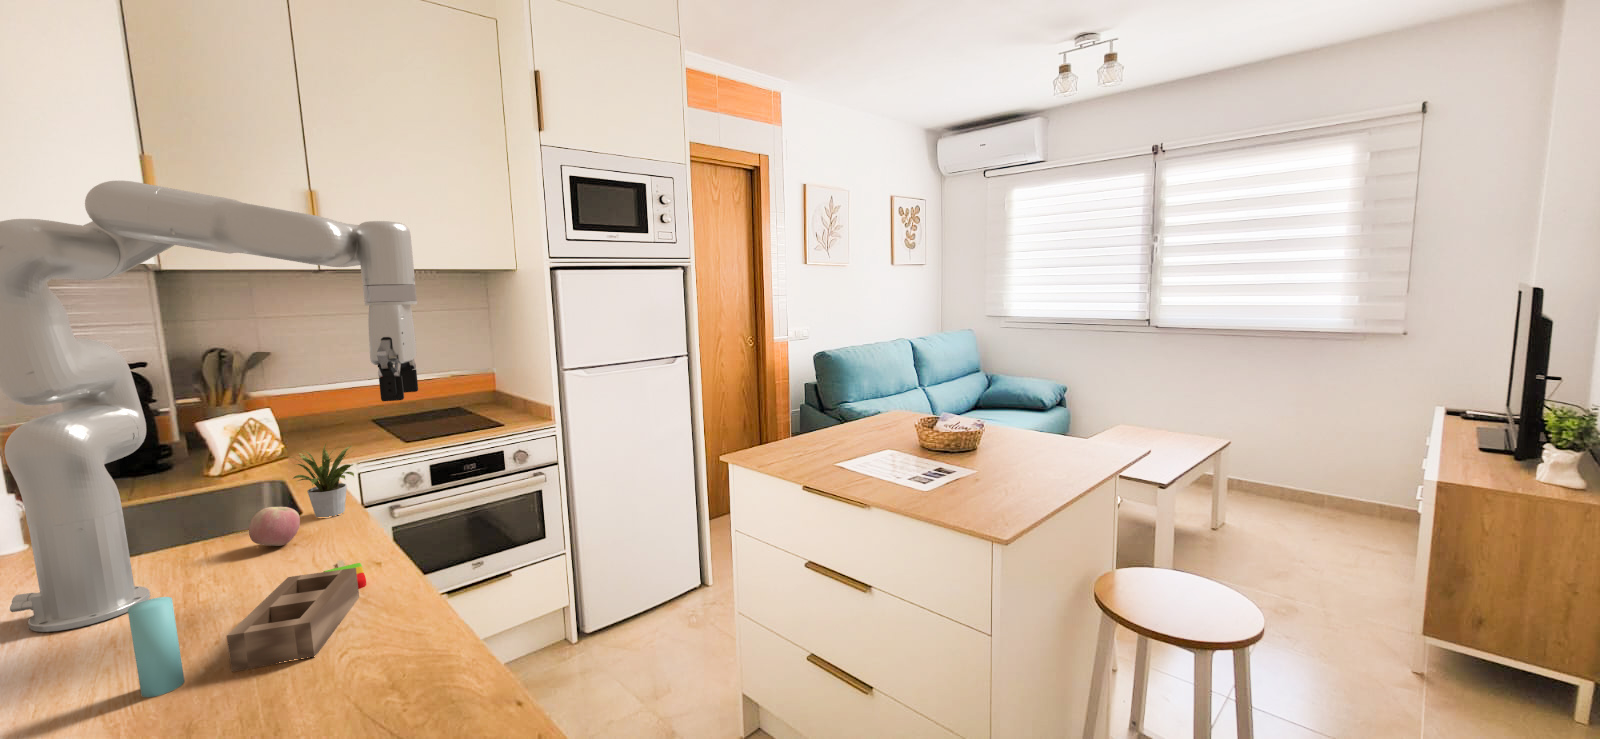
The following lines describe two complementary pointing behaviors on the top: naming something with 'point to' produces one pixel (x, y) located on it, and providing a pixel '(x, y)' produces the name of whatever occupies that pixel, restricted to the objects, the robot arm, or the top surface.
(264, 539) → the apple
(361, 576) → the popsicle
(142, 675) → the dowel
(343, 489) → the house plant
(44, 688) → the top surface
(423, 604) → the top surface
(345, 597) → the socket block
